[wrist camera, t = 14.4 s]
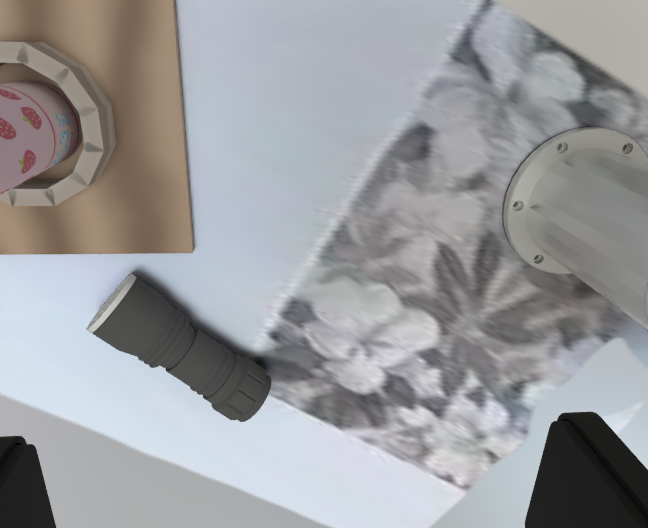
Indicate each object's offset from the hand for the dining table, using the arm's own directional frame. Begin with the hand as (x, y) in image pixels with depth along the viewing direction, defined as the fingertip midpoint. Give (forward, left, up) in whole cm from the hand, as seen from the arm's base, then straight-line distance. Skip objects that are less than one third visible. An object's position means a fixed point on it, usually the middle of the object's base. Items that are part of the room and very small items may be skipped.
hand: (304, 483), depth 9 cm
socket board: (+17, -2, -32) cm, 37 cm away
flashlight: (+8, +16, -33) cm, 37 cm away
